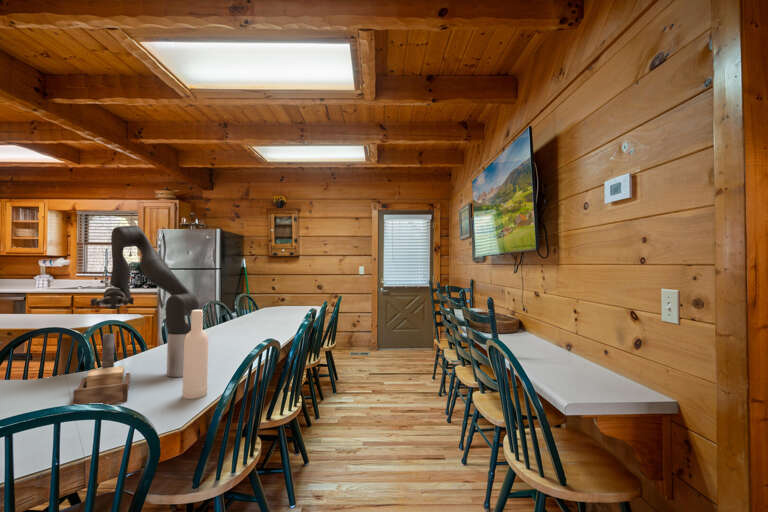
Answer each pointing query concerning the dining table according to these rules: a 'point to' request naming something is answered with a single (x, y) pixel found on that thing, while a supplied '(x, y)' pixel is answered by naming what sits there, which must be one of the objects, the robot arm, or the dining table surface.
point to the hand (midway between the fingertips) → (111, 303)
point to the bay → (102, 393)
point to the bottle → (195, 359)
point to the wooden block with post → (106, 366)
